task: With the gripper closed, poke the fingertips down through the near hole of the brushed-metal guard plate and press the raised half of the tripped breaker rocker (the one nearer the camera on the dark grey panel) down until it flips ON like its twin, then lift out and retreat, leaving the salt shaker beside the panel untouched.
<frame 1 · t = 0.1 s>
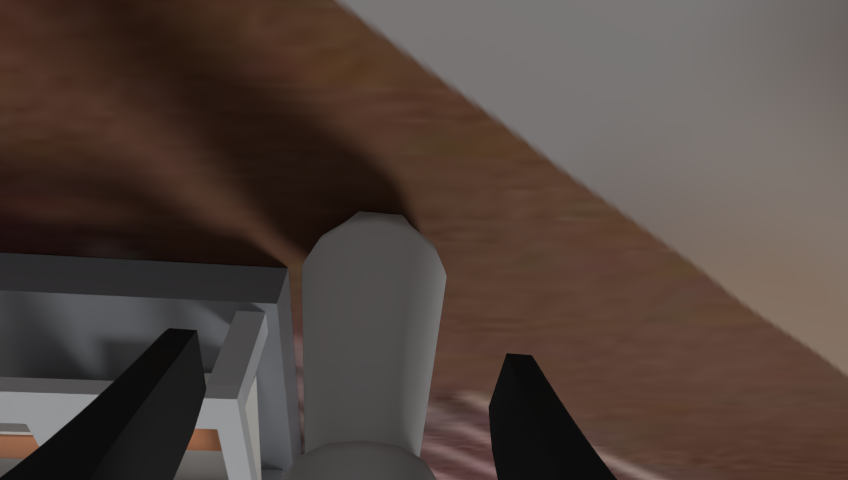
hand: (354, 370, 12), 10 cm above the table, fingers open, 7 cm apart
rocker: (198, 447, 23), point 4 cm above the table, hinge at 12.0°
salt shaker: (377, 246, 22), on the table
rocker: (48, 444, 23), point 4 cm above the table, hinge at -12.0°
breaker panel: (161, 373, 26), on the table
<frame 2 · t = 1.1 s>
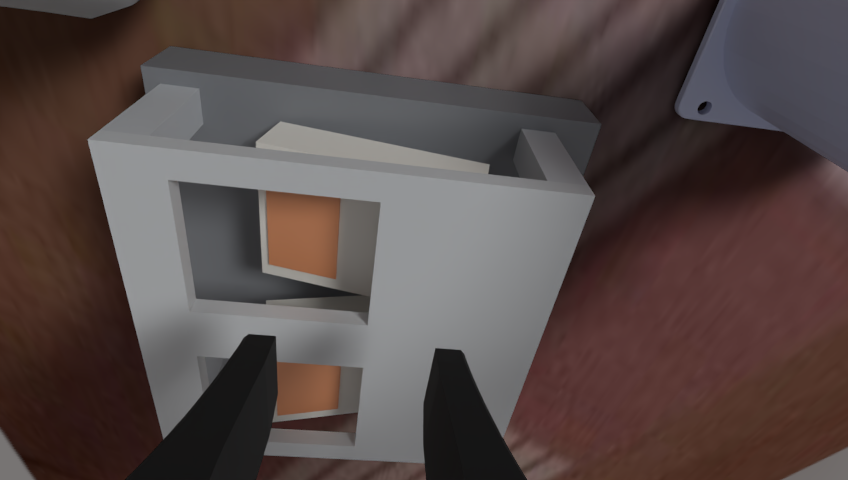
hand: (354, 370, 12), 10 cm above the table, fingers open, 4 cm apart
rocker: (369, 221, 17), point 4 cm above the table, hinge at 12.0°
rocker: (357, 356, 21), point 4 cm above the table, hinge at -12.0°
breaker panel: (369, 232, 22), on the table
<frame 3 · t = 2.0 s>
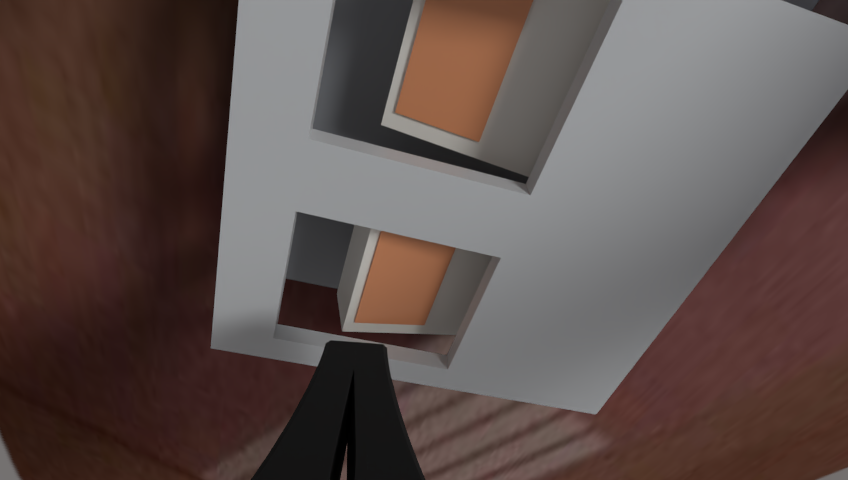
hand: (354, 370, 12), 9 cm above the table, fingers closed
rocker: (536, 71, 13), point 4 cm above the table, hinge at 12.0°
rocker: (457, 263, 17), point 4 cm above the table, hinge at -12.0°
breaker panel: (475, 125, 18), on the table
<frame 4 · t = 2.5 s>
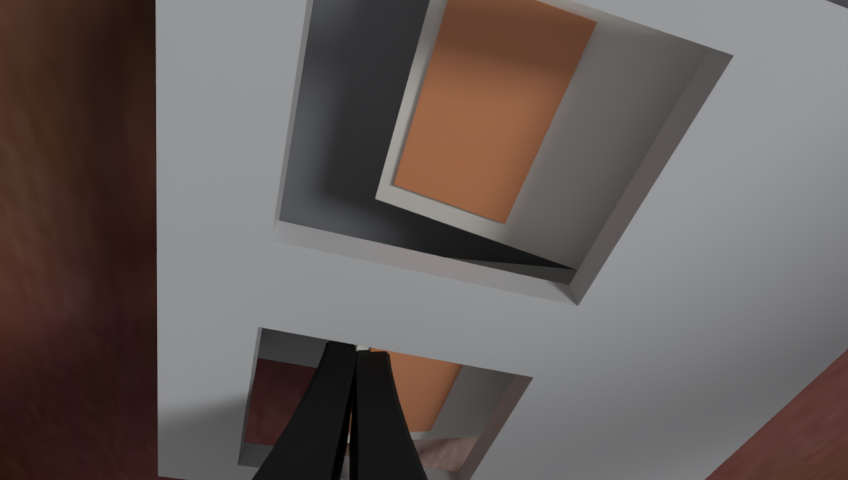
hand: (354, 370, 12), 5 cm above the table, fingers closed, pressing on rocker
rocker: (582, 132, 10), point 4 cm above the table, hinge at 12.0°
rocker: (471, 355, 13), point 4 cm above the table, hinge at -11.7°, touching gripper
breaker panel: (492, 176, 15), on the table
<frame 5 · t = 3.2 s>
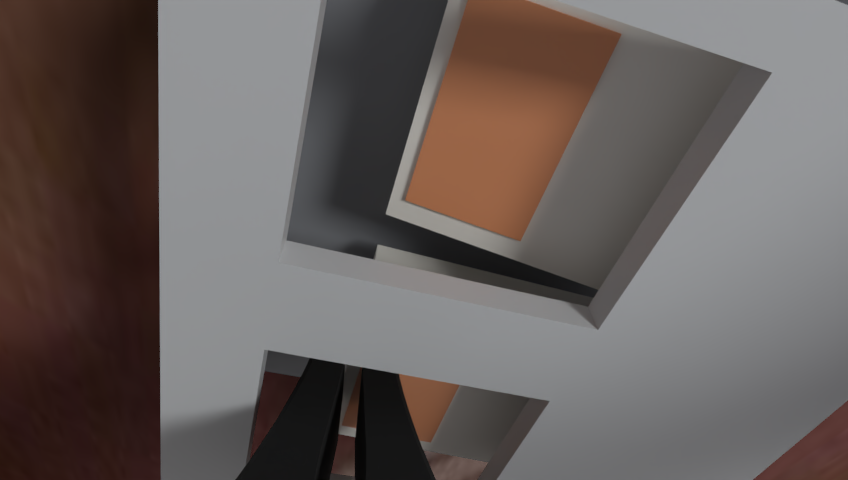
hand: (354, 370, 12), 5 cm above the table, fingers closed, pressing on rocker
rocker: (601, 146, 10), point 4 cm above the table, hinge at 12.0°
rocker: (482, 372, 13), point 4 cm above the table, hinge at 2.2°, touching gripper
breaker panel: (504, 186, 15), on the table
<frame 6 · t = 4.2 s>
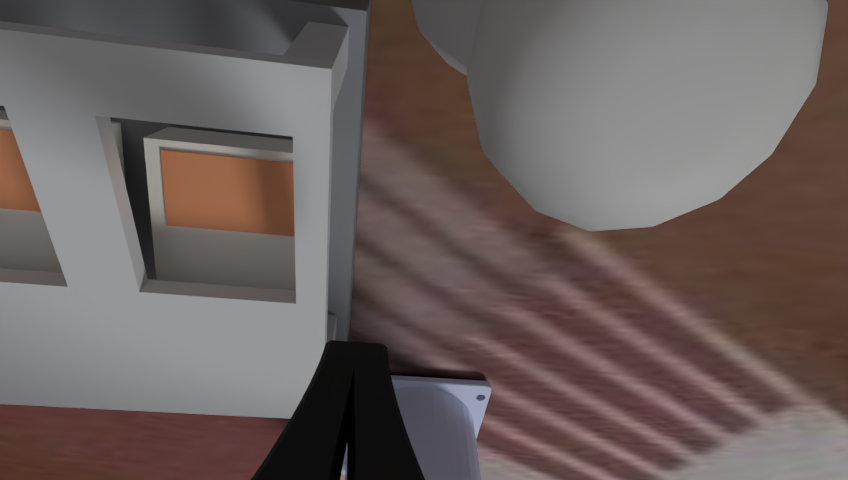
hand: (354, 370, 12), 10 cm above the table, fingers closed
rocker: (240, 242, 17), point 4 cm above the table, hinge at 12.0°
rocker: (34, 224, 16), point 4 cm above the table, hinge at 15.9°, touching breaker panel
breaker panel: (185, 175, 20), on the table
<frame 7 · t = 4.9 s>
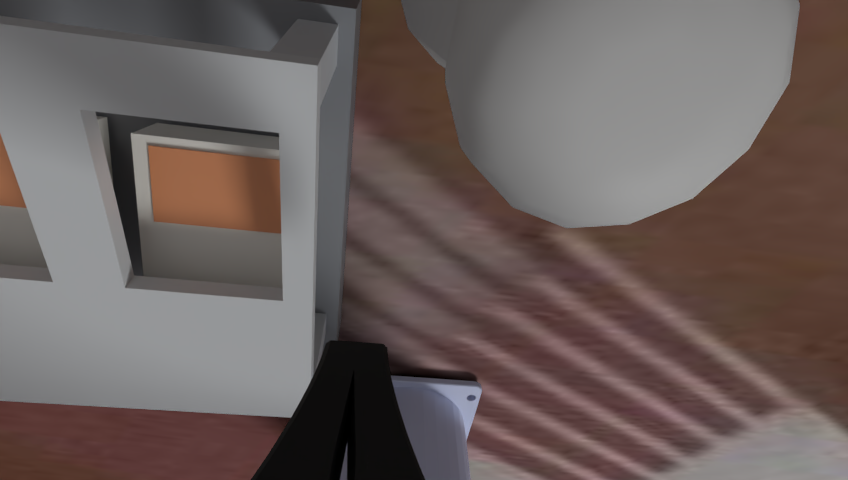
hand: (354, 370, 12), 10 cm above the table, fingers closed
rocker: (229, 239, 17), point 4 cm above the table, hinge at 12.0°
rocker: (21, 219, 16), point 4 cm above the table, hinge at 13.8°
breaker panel: (175, 172, 20), on the table
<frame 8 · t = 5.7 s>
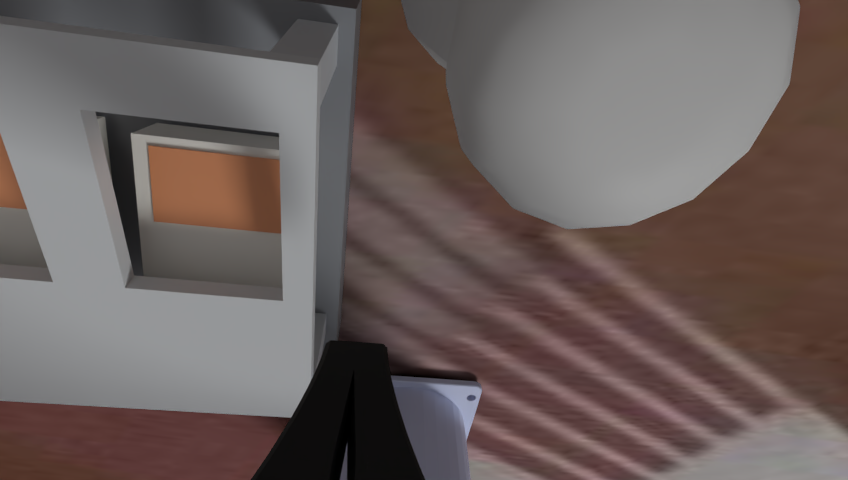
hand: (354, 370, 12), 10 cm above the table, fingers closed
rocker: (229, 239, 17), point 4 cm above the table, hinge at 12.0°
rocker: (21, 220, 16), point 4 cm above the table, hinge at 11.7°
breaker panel: (175, 172, 20), on the table
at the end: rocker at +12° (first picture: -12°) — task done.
